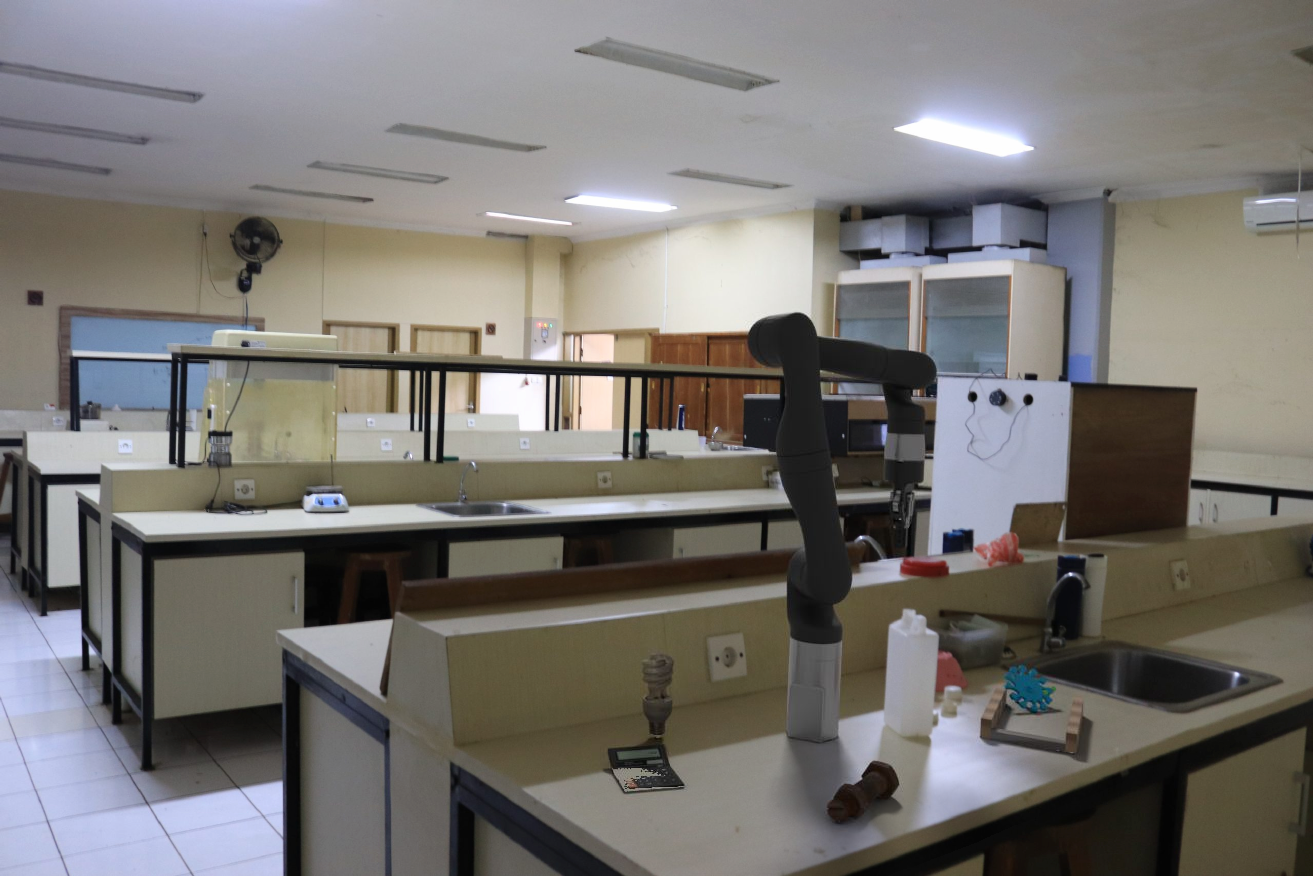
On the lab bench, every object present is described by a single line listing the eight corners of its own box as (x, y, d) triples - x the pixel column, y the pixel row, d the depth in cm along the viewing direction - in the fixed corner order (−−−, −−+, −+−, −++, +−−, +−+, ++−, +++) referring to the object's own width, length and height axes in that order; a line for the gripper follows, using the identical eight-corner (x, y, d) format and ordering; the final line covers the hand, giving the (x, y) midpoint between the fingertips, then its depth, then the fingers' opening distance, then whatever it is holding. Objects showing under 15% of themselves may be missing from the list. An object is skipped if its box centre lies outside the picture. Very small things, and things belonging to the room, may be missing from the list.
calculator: (624, 794, 147) (625, 775, 146) (606, 765, 158) (607, 747, 158) (684, 789, 149) (684, 770, 149) (662, 761, 160) (663, 743, 160)
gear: (1013, 706, 190) (1001, 660, 197) (999, 719, 194) (988, 674, 201) (1065, 712, 192) (1051, 667, 199) (1049, 726, 196) (1037, 681, 203)
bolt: (829, 836, 139) (877, 800, 150) (858, 829, 136) (904, 793, 147) (812, 796, 140) (861, 763, 152) (840, 787, 137) (888, 755, 149)
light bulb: (658, 745, 166) (661, 658, 166) (633, 738, 170) (635, 652, 169) (677, 737, 171) (680, 652, 170) (652, 729, 174) (655, 646, 174)
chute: (1076, 754, 169) (1077, 734, 169) (979, 737, 176) (980, 718, 176) (1082, 715, 191) (1083, 697, 191) (996, 701, 198) (997, 684, 198)
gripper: (892, 454, 195) (888, 541, 195) (876, 457, 183) (872, 550, 183) (930, 457, 191) (926, 545, 192) (917, 460, 179) (913, 554, 180)
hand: (900, 547), depth 188 cm, fingers closed
